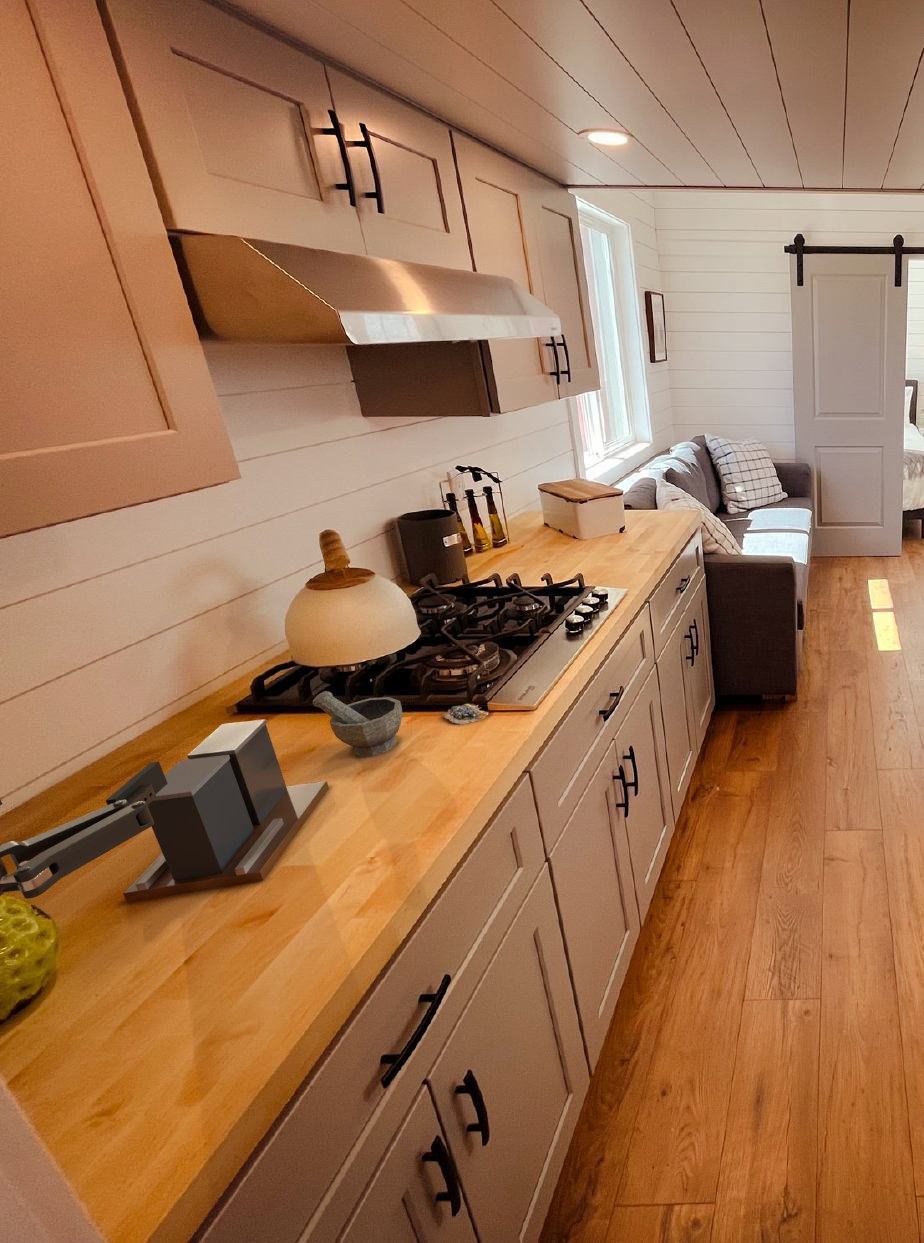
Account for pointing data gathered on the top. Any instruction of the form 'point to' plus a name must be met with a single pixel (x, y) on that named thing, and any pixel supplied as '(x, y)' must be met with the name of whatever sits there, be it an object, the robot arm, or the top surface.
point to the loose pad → (200, 817)
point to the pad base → (264, 864)
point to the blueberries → (464, 714)
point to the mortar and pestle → (363, 722)
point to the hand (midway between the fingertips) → (77, 782)
